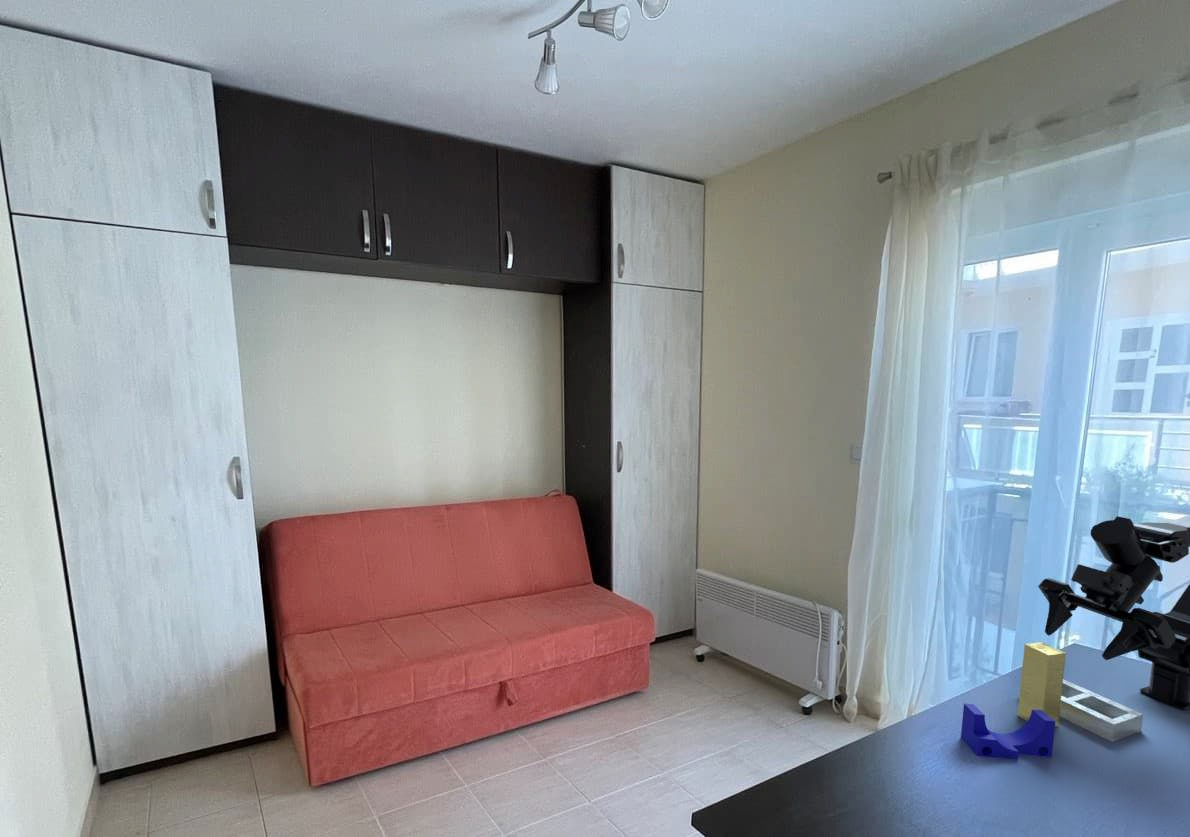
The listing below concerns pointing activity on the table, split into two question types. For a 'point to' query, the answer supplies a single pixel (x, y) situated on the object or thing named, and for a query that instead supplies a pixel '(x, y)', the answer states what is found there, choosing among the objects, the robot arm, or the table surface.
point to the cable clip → (1008, 736)
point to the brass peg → (1041, 680)
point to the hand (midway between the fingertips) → (1074, 645)
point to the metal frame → (1098, 713)
